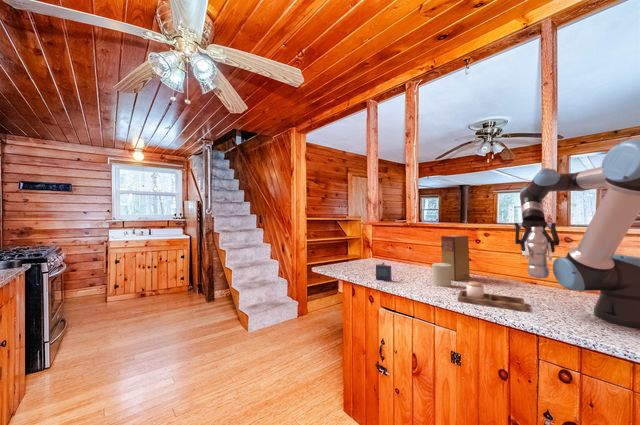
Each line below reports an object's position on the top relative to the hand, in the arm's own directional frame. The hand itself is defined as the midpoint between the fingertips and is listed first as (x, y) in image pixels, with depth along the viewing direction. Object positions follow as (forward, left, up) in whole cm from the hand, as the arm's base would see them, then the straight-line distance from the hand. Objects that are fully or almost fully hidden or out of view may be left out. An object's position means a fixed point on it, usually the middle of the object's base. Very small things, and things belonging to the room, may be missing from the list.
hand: (538, 257), depth 101 cm
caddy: (+16, -2, -21) cm, 27 cm away
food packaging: (+34, -44, -22) cm, 59 cm away
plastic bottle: (0, -3, -9) cm, 9 cm away
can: (+38, -22, -22) cm, 49 cm away
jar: (+22, -2, -20) cm, 30 cm away
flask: (+69, -19, -22) cm, 75 cm away
